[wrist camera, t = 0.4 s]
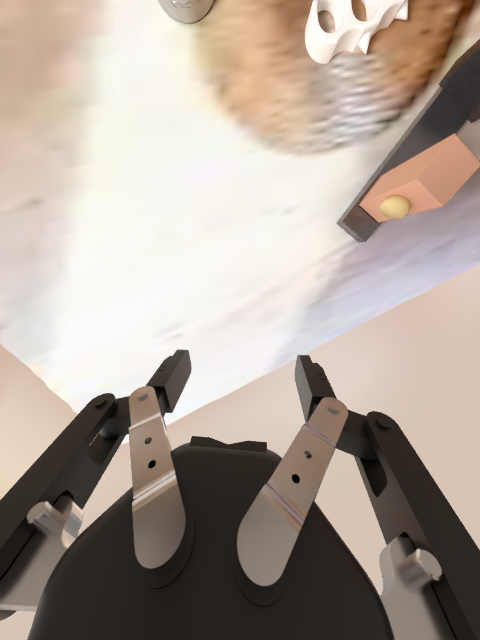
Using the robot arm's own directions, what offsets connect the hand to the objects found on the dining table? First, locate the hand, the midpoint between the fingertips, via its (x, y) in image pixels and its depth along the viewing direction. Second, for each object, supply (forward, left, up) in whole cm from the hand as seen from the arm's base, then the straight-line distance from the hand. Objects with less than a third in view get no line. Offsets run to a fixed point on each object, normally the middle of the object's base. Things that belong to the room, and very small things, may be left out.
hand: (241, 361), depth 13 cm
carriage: (-14, +25, -25) cm, 38 cm away
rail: (-19, +29, -27) cm, 44 cm away
